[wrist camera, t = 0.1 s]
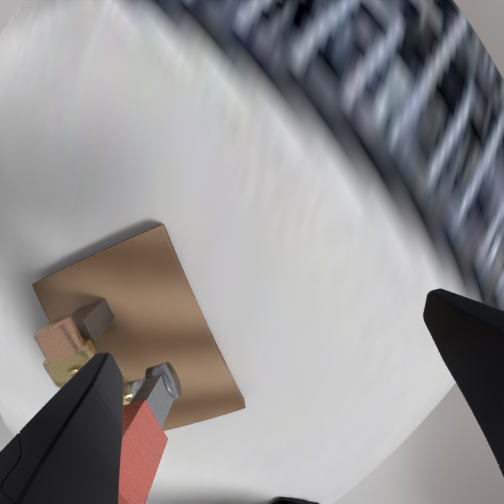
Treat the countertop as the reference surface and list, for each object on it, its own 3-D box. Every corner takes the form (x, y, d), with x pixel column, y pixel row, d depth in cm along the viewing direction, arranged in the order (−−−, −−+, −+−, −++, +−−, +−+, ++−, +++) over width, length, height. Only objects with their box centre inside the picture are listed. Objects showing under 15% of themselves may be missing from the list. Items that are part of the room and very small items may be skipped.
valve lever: (186, 387, 18) (140, 517, 7) (163, 393, 18) (103, 518, 7) (171, 355, 18) (103, 470, 7) (148, 363, 18) (66, 473, 7)
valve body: (193, 399, 24) (187, 473, 15) (127, 416, 23) (105, 484, 15) (130, 277, 21) (86, 322, 13) (62, 305, 21) (6, 352, 13)
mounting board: (244, 399, 25) (245, 407, 24) (126, 431, 25) (124, 439, 24) (164, 223, 22) (161, 225, 21) (39, 280, 22) (31, 284, 21)
